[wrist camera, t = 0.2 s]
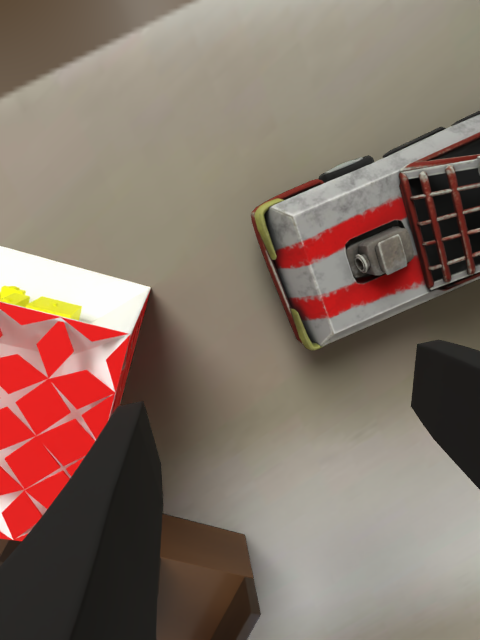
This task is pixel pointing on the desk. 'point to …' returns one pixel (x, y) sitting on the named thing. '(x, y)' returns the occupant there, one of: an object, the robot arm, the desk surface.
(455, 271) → the toy car
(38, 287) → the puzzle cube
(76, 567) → the robot arm
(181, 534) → the divided wooden tray
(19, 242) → the desk surface
